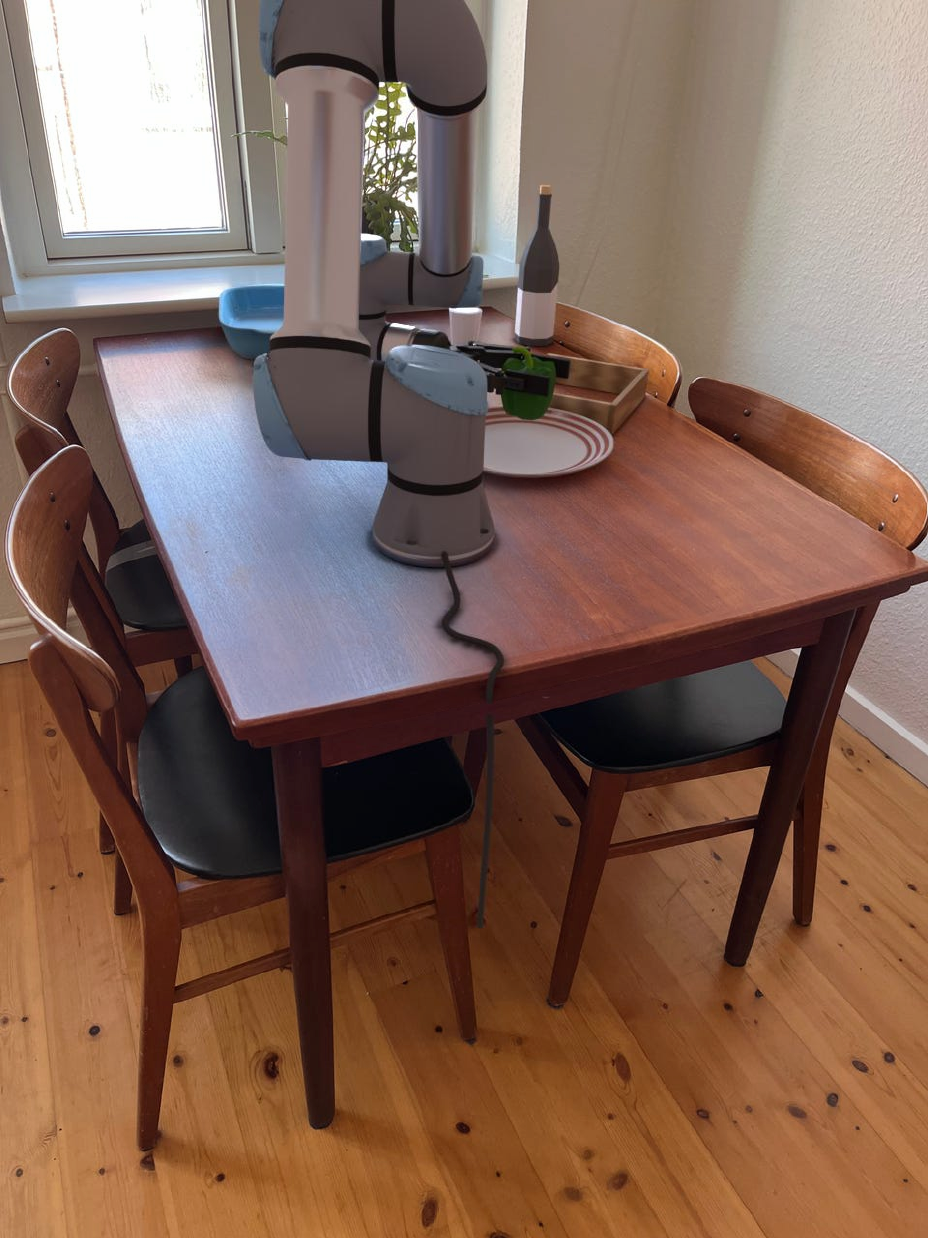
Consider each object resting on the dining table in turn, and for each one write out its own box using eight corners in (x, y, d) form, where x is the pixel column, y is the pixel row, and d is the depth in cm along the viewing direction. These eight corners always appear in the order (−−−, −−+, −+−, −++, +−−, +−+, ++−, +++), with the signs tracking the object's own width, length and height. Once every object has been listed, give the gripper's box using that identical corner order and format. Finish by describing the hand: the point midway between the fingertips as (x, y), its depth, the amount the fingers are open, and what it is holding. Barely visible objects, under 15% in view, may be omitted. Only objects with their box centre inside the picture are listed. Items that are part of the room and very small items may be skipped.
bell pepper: (564, 416, 140) (571, 349, 135) (529, 429, 135) (535, 360, 130) (521, 401, 145) (526, 336, 139) (486, 413, 140) (490, 346, 134)
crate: (497, 413, 158) (499, 384, 155) (541, 378, 175) (543, 352, 173) (611, 435, 152) (615, 405, 149) (645, 396, 169) (649, 369, 166)
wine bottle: (516, 334, 200) (526, 181, 184) (553, 337, 200) (567, 184, 184) (512, 344, 194) (523, 186, 178) (551, 347, 193) (565, 189, 177)
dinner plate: (519, 509, 126) (520, 486, 125) (395, 447, 144) (395, 426, 142) (648, 462, 142) (651, 442, 140) (523, 411, 159) (524, 392, 158)
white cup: (487, 343, 194) (488, 308, 190) (469, 350, 189) (471, 315, 185) (459, 337, 197) (460, 303, 193) (441, 344, 192) (442, 309, 188)
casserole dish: (343, 365, 177) (342, 327, 173) (222, 369, 172) (218, 329, 168) (325, 315, 207) (323, 282, 203) (221, 317, 202) (218, 282, 199)
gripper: (445, 359, 152) (578, 382, 145) (385, 397, 136) (532, 425, 129) (447, 312, 148) (583, 334, 141) (385, 345, 132) (536, 372, 124)
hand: (559, 377), depth 135 cm, fingers closed on bell pepper, 8 cm apart
